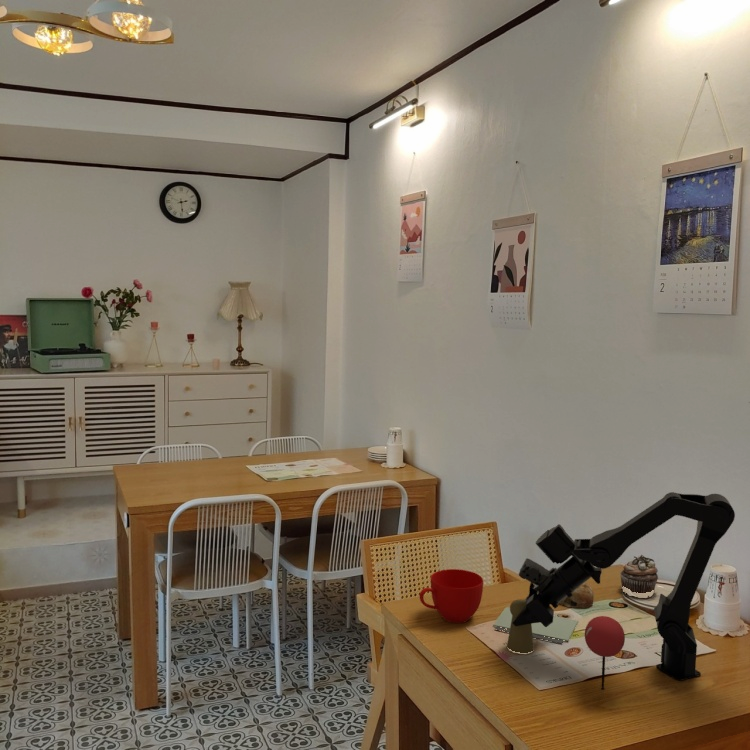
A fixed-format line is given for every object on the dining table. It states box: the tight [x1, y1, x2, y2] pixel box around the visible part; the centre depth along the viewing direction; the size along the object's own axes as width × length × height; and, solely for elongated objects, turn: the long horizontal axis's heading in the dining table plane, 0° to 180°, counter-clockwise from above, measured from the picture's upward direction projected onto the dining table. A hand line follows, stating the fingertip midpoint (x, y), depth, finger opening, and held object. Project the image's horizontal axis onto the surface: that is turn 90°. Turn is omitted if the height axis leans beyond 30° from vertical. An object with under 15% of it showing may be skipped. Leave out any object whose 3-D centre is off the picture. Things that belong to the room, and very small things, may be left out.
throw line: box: [494, 627, 564, 644], centre depth 176 cm, size 16×2×1 cm, turn 64°
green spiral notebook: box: [492, 606, 579, 642], centre depth 182 cm, size 18×12×1 cm, turn 64°
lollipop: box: [584, 615, 626, 690], centre depth 152 cm, size 8×8×15 cm
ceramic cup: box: [419, 568, 484, 624], centre depth 184 cm, size 13×17×10 cm
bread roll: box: [559, 581, 594, 609], centre depth 197 cm, size 10×10×8 cm
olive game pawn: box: [506, 598, 535, 653], centre depth 169 cm, size 6×6×11 cm
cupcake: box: [619, 554, 659, 593], centre depth 203 cm, size 10×10×10 cm
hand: (515, 619), depth 169 cm, fingers closed on olive game pawn, 5 cm apart
